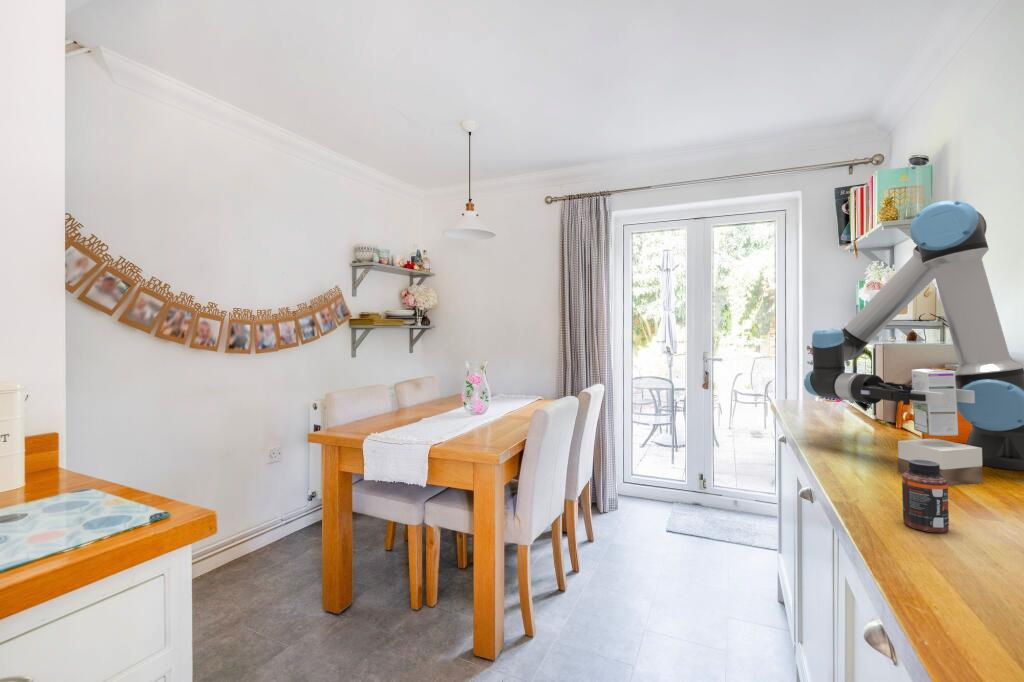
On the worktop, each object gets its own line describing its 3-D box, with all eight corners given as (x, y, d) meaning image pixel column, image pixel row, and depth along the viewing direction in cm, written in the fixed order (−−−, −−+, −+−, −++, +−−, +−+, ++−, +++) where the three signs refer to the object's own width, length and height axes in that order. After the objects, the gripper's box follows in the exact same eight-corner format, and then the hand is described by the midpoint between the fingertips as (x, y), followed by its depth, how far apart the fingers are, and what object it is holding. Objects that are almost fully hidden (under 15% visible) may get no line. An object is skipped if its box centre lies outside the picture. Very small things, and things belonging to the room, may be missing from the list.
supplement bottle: (953, 537, 76) (951, 468, 76) (906, 530, 79) (904, 464, 79) (944, 524, 81) (942, 459, 81) (900, 518, 84) (898, 456, 84)
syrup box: (959, 435, 102) (957, 370, 102) (928, 435, 103) (925, 370, 103) (942, 430, 108) (940, 368, 107) (912, 430, 109) (910, 368, 109)
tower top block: (934, 454, 111) (934, 438, 111) (982, 466, 101) (981, 447, 101) (898, 457, 110) (897, 441, 110) (943, 469, 100) (942, 451, 100)
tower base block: (937, 471, 111) (937, 455, 111) (982, 485, 101) (982, 466, 101) (898, 474, 110) (897, 457, 110) (939, 487, 100) (938, 469, 100)
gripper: (892, 399, 125) (995, 412, 102) (828, 404, 121) (921, 419, 99) (891, 371, 125) (994, 378, 102) (827, 376, 121) (920, 383, 99)
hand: (958, 398), depth 101 cm, fingers closed on syrup box, 7 cm apart
